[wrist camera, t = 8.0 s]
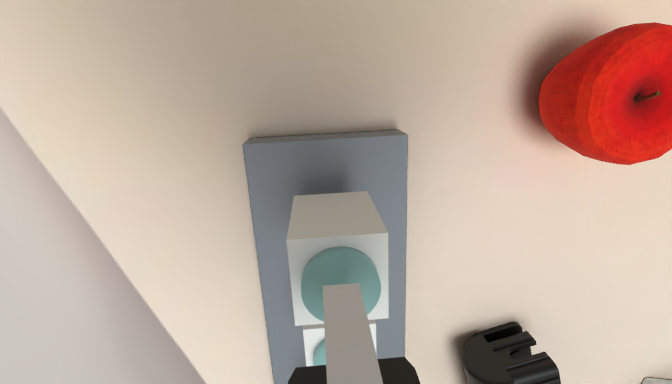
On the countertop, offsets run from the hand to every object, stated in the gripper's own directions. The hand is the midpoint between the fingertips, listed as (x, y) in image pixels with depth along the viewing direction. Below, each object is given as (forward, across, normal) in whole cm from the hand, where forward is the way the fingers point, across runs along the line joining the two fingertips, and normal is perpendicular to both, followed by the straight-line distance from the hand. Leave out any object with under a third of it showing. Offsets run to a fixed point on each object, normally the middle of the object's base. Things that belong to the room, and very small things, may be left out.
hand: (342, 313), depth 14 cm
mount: (+16, 0, -8) cm, 18 cm away
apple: (+16, +20, +7) cm, 27 cm away
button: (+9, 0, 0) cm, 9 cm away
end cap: (+16, +16, -20) cm, 30 cm away
